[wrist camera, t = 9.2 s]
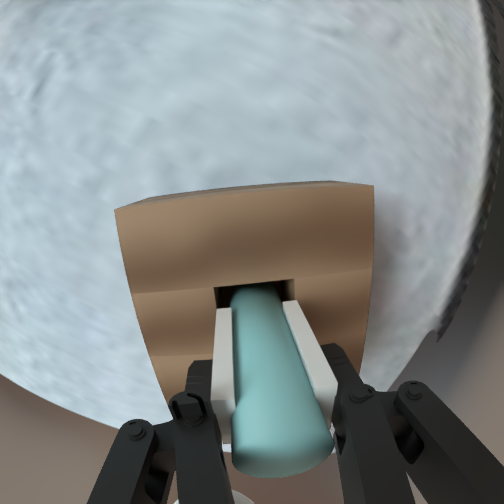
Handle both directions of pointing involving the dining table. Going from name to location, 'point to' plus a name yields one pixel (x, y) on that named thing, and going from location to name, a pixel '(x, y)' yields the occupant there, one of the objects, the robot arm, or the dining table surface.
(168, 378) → the socket block
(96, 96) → the dining table surface
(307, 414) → the dowel
